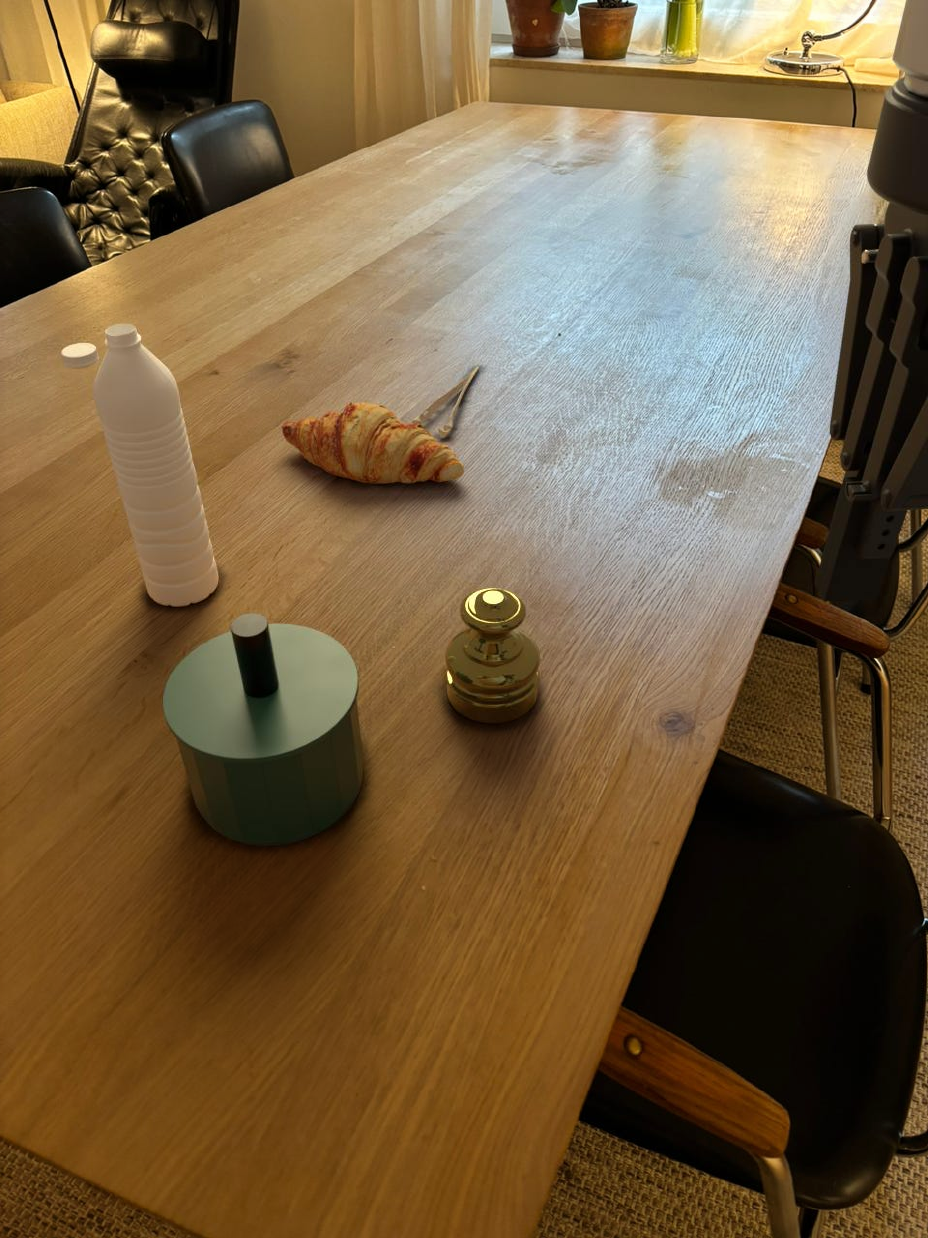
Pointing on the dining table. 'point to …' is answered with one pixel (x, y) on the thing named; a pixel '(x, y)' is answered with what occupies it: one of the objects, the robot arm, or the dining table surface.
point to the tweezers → (442, 400)
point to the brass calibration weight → (492, 659)
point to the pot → (280, 789)
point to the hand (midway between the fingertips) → (845, 590)
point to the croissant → (372, 446)
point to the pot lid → (260, 692)
